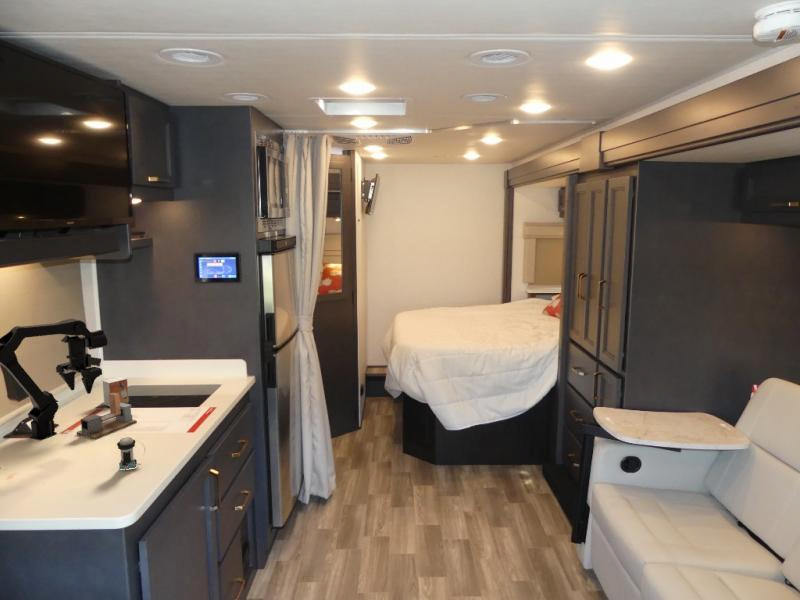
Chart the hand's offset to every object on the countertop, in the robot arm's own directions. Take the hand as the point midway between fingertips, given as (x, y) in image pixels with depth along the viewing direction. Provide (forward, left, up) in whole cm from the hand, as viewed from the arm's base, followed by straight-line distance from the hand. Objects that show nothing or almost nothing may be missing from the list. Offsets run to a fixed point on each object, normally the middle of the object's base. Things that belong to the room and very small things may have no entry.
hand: (80, 391), depth 223 cm
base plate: (+1, -12, -13) cm, 18 cm away
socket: (+8, -12, -12) cm, 19 cm away
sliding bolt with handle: (+2, -12, -10) cm, 16 cm away
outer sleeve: (-5, -12, -12) cm, 18 cm away
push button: (-19, -48, -13) cm, 53 cm away
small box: (+22, +9, -13) cm, 27 cm away
